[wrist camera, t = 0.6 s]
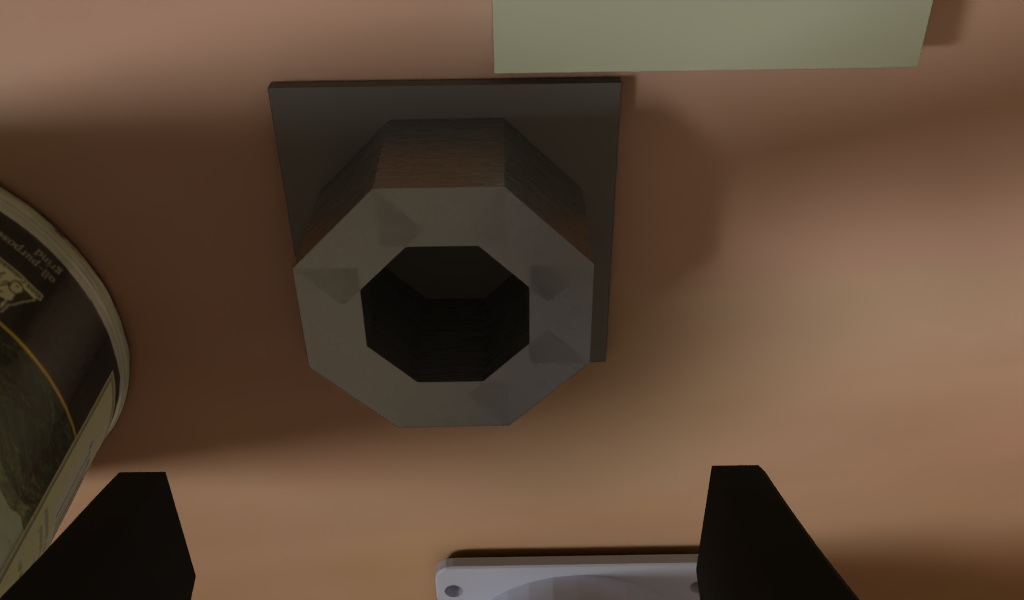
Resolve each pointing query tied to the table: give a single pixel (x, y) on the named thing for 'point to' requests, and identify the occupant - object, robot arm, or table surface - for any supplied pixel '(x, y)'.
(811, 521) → the table surface
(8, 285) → the coffee can
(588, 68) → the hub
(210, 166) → the table surface
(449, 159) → the ring
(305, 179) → the mat
